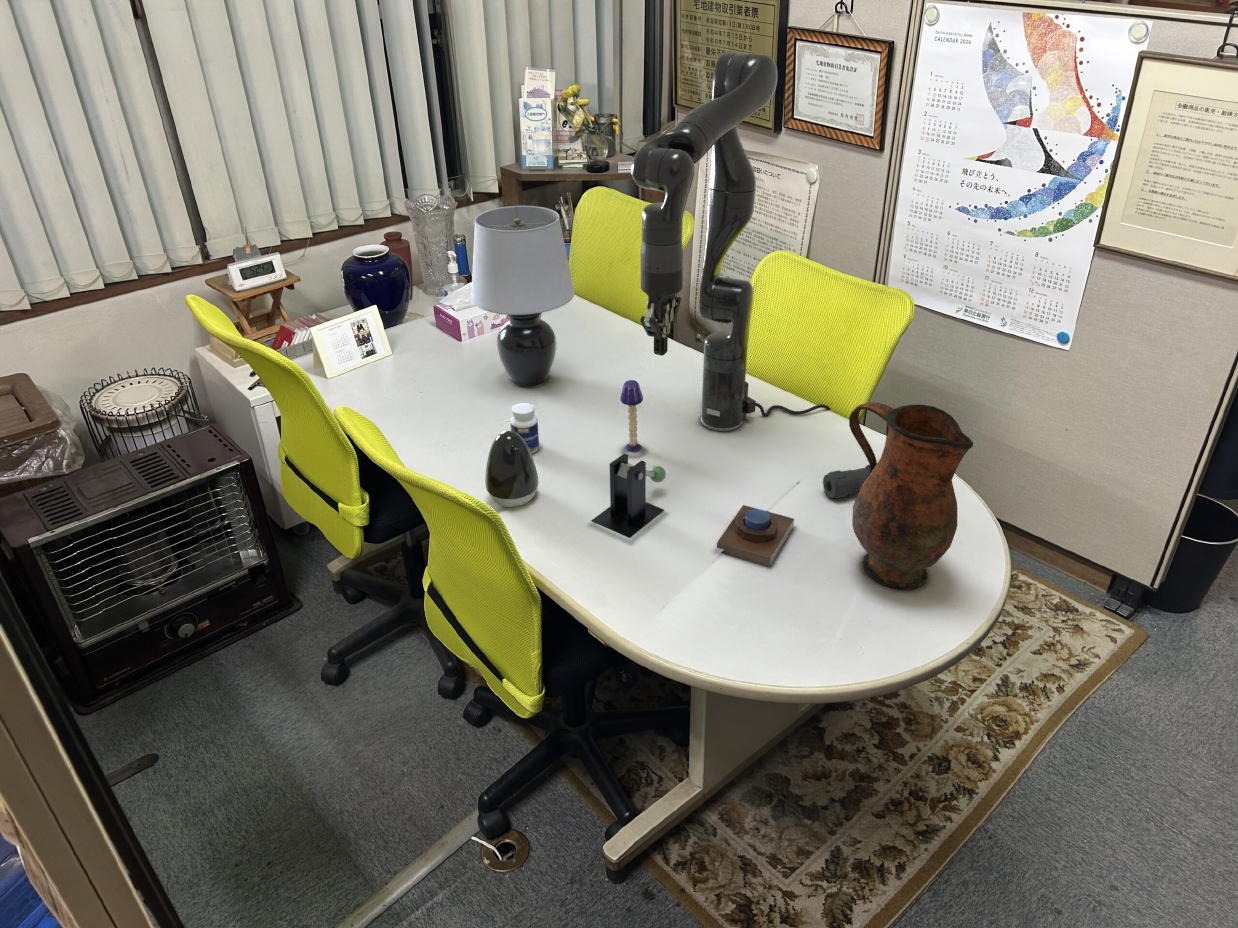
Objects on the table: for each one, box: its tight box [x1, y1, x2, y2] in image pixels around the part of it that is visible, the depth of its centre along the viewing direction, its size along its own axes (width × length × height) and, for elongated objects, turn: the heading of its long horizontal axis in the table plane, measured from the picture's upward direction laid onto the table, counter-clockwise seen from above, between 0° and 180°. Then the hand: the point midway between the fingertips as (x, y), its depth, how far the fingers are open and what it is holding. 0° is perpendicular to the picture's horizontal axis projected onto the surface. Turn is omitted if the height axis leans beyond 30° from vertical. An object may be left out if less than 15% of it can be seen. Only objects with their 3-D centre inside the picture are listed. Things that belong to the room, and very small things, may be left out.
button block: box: [716, 504, 795, 568], centre depth 161 cm, size 13×10×4 cm
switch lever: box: [617, 462, 667, 483], centre depth 166 cm, size 14×3×3 cm, turn 143°
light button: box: [745, 508, 770, 530], centre depth 159 cm, size 4×4×2 cm
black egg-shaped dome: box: [484, 430, 540, 508], centre depth 170 cm, size 10×10×15 cm
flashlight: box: [822, 464, 870, 499], centre depth 174 cm, size 15×5×5 cm, turn 108°
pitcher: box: [848, 402, 974, 591], centre depth 147 cm, size 17×21×30 cm
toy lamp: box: [619, 379, 644, 453], centre depth 184 cm, size 5×5×17 cm
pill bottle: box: [510, 402, 540, 455], centre depth 188 cm, size 6×6×10 cm
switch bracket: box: [591, 453, 665, 539], centre depth 164 cm, size 11×9×13 cm
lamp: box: [470, 205, 575, 388], centre depth 208 cm, size 24×24×40 cm
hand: (660, 353), depth 167 cm, fingers closed
